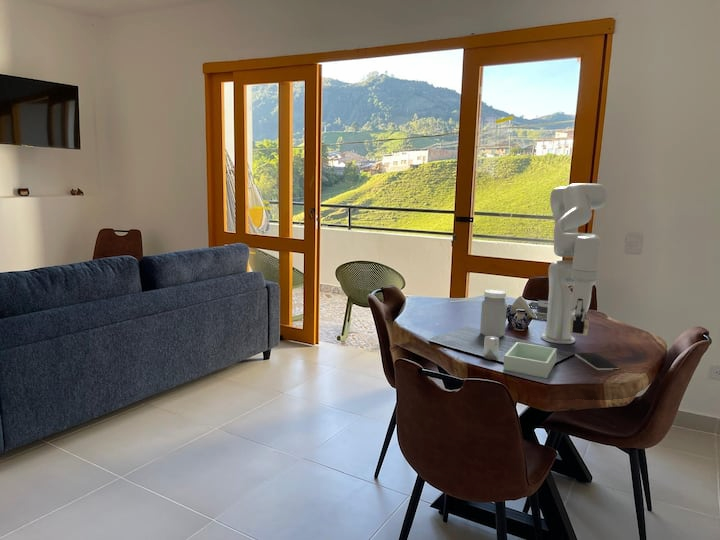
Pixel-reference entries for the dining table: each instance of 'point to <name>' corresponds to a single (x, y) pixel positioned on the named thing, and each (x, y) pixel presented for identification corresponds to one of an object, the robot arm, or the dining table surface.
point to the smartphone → (596, 361)
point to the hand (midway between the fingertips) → (578, 330)
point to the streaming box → (542, 306)
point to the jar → (493, 313)
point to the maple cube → (586, 325)
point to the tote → (530, 359)
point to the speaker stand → (541, 315)
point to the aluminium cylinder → (491, 347)
